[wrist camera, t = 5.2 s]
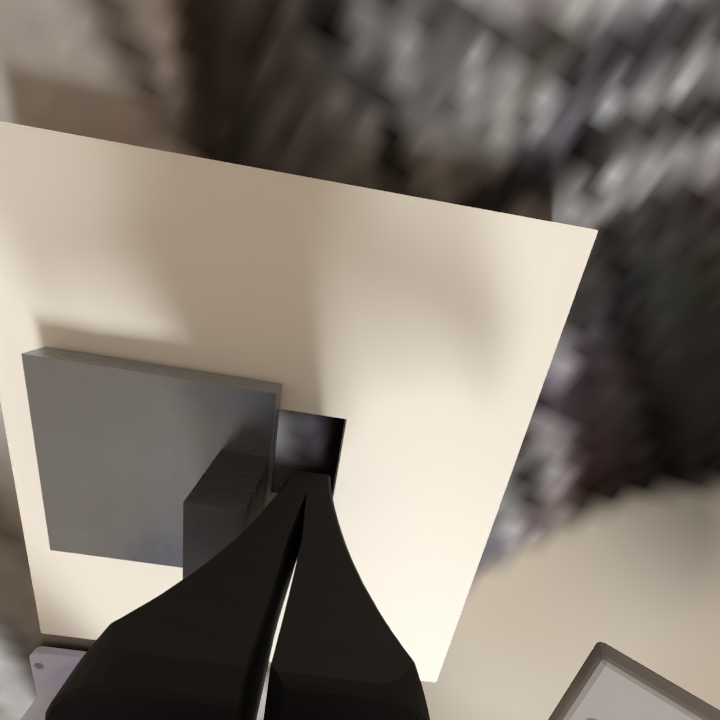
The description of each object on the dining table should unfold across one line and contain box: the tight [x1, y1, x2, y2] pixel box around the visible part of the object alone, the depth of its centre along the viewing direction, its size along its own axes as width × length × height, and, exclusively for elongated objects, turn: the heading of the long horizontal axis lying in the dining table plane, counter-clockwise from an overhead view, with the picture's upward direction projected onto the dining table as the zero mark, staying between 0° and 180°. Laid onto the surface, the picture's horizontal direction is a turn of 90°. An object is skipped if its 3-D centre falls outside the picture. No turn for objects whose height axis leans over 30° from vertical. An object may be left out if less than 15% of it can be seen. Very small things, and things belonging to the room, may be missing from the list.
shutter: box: [21, 346, 282, 579], centre depth 11 cm, size 8×8×3 cm
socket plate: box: [0, 121, 598, 682], centre depth 14 cm, size 20×18×2 cm
